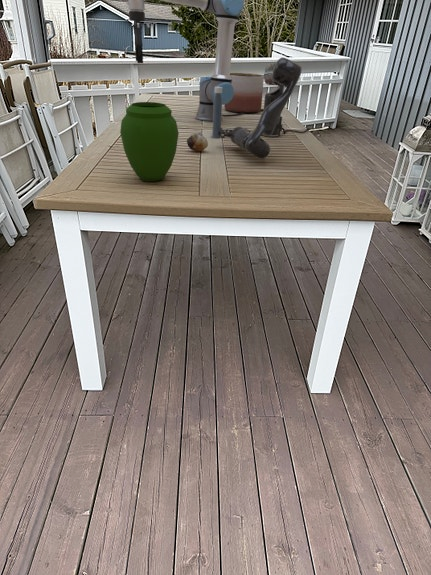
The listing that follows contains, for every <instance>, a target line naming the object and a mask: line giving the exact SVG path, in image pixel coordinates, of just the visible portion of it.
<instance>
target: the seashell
mask: <svg viewBox="0 0 431 575" xmlns="http://www.w3.org/2000/svg"><path fill="white" fill-rule="evenodd" d="M186 144H187V147H188V148H189V149H190V150H192V151H194V152H201V151H204V150H205V149H207V147H208V146H209V141H208V139H207V138H206V137H205V136H204V134H203V132H197V133H193V134H191V135H190V136H189V137H188V138H186Z"/></svg>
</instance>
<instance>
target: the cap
mask: <svg viewBox="0 0 431 575" xmlns="http://www.w3.org/2000/svg"><path fill="white" fill-rule="evenodd" d="M215 93H222V87H215Z"/></svg>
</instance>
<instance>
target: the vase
mask: <svg viewBox="0 0 431 575" xmlns="http://www.w3.org/2000/svg"><path fill="white" fill-rule="evenodd" d="M125 113H126V114H125V115H124V117H122V119H121V122H120V123H121V124H120V130H119V133H120V138H121V142H122V147H123V150H124V154H125V155H126V158H127V160H128V163H129V165H130V167H131V168H132V170H133V172H134V173H135V175H136V176H137V177H138V178H139V179H141V180H143V181H145V182H159V181H161V180H163V179H164V178H165V176H166V175H167V174H168V173H169V170H170V169H171V167H172V165H173V162H174V159H175V157H176V156H175V155H176V153H177V147H178V140H179V129H178V122H177V120H176V119H175V117H174V116H173V115H172V109H171V108H170V107H169V106H167V105H166V104H164V103H162V102H155V101H138V102H132V103H131V104H130V105H128V107H127V108H125Z"/></svg>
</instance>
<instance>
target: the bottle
mask: <svg viewBox="0 0 431 575" xmlns="http://www.w3.org/2000/svg"><path fill="white" fill-rule="evenodd" d="M222 113H223V105H222V98H221V93H216V95H215V97H214V106H213V121H212V131H211V132H212V134H211V136H212V138H213V139H220V138H221V137H220V136H218V130H219V128H222V116H221V115H223V114H222Z"/></svg>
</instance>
